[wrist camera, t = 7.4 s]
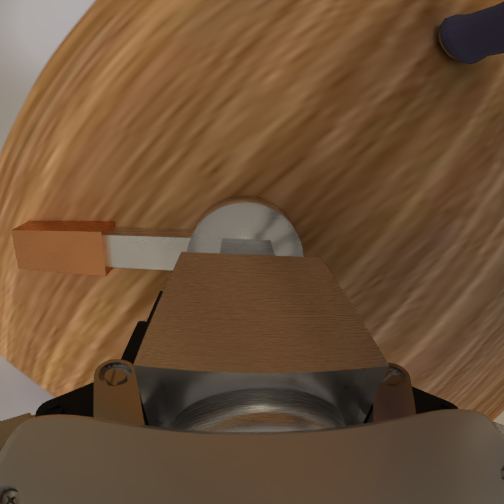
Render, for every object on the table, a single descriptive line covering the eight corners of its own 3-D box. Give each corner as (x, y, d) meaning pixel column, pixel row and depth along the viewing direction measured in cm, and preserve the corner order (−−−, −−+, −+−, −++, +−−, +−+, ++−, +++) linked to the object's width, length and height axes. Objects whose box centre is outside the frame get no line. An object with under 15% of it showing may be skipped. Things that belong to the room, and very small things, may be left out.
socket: (321, 257, 12) (418, 416, 4) (301, 362, 14) (341, 515, 6) (181, 251, 12) (112, 422, 4) (186, 360, 14) (162, 518, 6)
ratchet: (300, 198, 20) (324, 222, 14) (289, 294, 22) (304, 342, 17) (26, 196, 18) (-21, 215, 13) (39, 279, 21) (1, 313, 15)
